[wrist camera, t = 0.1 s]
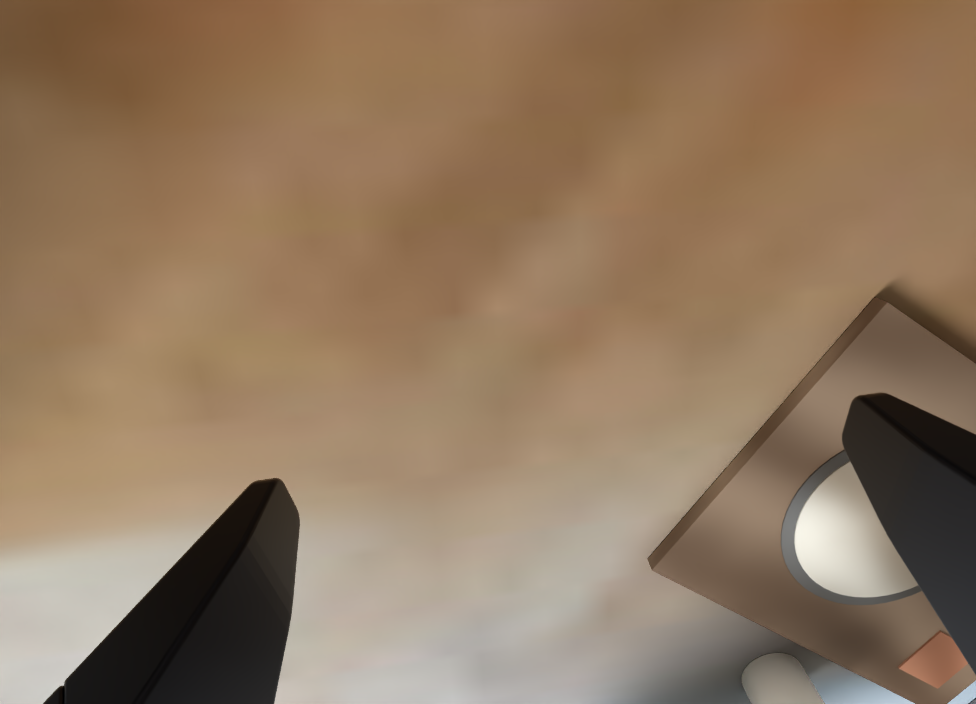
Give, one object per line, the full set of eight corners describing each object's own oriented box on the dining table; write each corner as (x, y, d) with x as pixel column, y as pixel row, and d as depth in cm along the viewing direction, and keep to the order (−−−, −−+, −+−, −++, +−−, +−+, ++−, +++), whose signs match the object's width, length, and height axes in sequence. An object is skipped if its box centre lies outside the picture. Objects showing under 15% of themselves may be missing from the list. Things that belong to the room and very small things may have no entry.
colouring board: (924, 700, 33) (937, 716, 32) (647, 558, 29) (653, 573, 28) (1166, 499, 28) (1189, 511, 28) (874, 297, 24) (890, 303, 23)
